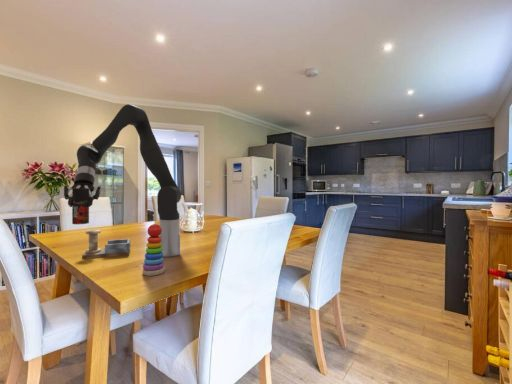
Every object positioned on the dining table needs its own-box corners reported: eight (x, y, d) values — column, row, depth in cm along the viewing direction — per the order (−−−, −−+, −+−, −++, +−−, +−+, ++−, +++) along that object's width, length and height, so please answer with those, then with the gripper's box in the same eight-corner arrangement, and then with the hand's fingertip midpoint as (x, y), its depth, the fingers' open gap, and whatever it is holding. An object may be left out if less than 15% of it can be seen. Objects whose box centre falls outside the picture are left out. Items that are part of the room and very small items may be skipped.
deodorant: (69, 224, 107) (69, 188, 106) (75, 222, 112) (75, 188, 112) (85, 224, 108) (86, 188, 108) (91, 222, 114) (91, 188, 113)
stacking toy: (157, 277, 93) (156, 226, 93) (137, 275, 95) (137, 225, 95) (168, 270, 101) (168, 223, 101) (150, 268, 103) (150, 222, 102)
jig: (130, 249, 134) (130, 227, 133) (129, 254, 123) (129, 230, 123) (87, 252, 126) (86, 229, 126) (82, 258, 116) (81, 233, 115)
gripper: (64, 171, 113) (57, 199, 103) (102, 172, 119) (99, 199, 109) (67, 183, 118) (60, 211, 108) (103, 183, 124) (100, 210, 114)
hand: (80, 205), depth 108 cm, fingers closed on deodorant, 6 cm apart
